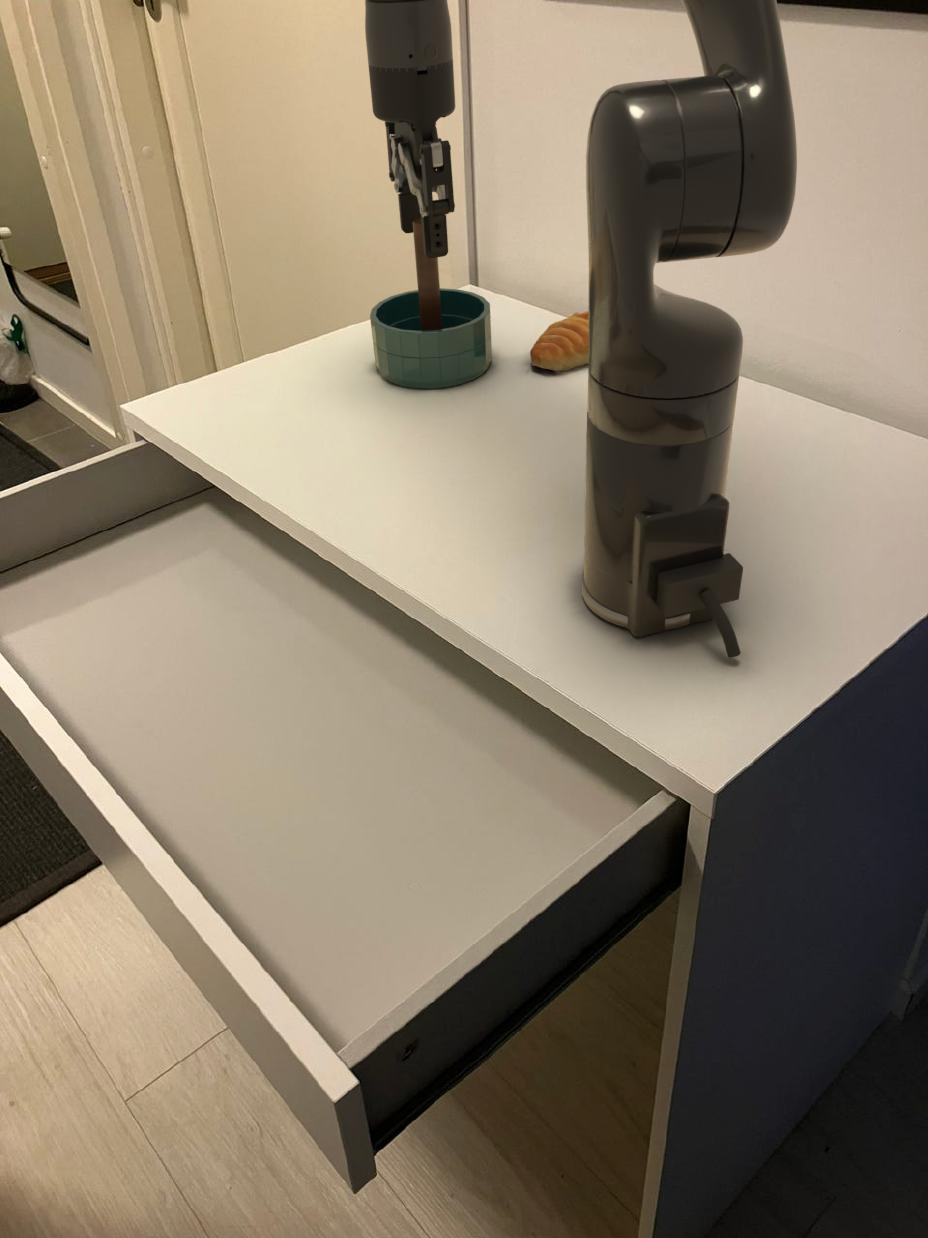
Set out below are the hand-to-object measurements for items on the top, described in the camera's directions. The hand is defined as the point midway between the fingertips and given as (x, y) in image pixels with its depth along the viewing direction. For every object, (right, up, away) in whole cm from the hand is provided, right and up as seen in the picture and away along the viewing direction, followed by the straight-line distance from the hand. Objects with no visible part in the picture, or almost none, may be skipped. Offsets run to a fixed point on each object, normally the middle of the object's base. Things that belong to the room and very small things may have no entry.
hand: (424, 243), depth 99 cm
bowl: (+1, -10, +8) cm, 13 cm away
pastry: (+15, -9, +8) cm, 19 cm away
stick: (+1, -9, +7) cm, 12 cm away
